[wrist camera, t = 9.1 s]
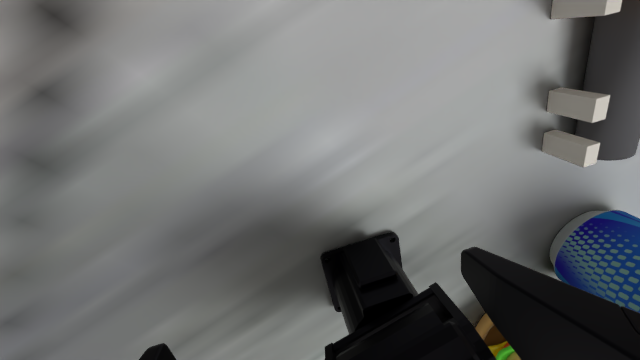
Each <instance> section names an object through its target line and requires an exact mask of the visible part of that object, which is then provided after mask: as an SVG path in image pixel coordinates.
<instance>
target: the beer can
mask: <svg viewBox="0 0 640 360" xmlns="http://www.w3.org/2000/svg"><path fill="white" fill-rule="evenodd" d="M550 260H551V262H552V264H553V265H554V271H555V274H556V276H557V277H558V278H559V279H560V280H561V281H562V282H564V283H567V284H569V285H572V286H574V287H577V288H579V289H581V290H584V291H586V292H589V293H591V294H594V295H596V296H599V297H601V298H604V299H606V300H609V301H611V302H614V303H616V304H618V305H619V306H620V307H621V306H624V307H626V308H629V309H631V310H634V311H636V312H639V313H640V219H639V218H637V217H635V216H632V215H630V214H628V213H626V212H623V211H619V210H610V211H590V212H586V213H584V214H581V215H579V216H578V217H576V218H574V219H573V220H571V221H570V222H569V223H568V224H566V225H565V226H564V227H563V228H562V229H561V231H560V232H559V233H558V234H557V236H556V237H555V239H554V241H553V243H552V245H551V248H550Z"/></svg>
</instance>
